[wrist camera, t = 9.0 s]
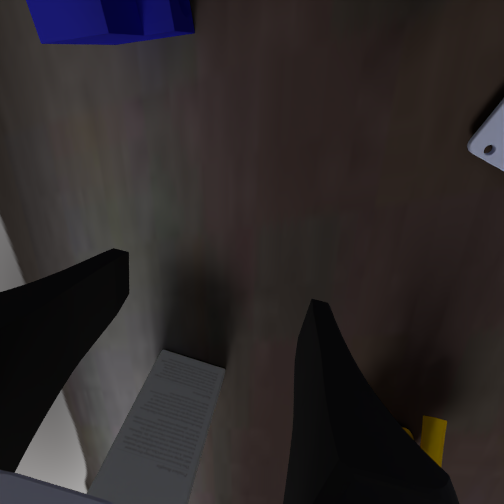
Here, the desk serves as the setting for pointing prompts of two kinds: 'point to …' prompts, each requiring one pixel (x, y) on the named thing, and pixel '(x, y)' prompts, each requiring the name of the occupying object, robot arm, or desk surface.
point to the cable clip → (109, 20)
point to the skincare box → (162, 435)
